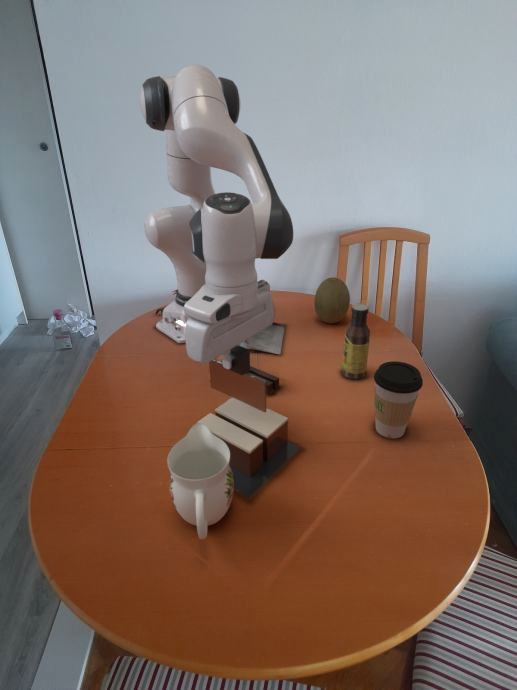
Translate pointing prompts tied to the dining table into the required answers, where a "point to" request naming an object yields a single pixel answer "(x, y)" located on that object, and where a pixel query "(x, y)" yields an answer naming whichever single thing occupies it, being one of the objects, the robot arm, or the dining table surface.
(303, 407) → the dining table surface
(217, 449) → the pitcher
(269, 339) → the meat cleaver
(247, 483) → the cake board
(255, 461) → the cake slice
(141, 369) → the dining table surface
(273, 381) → the stand
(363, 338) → the sauce bottle
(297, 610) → the dining table surface
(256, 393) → the dough scraper
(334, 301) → the fruit
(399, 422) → the coffee cup
